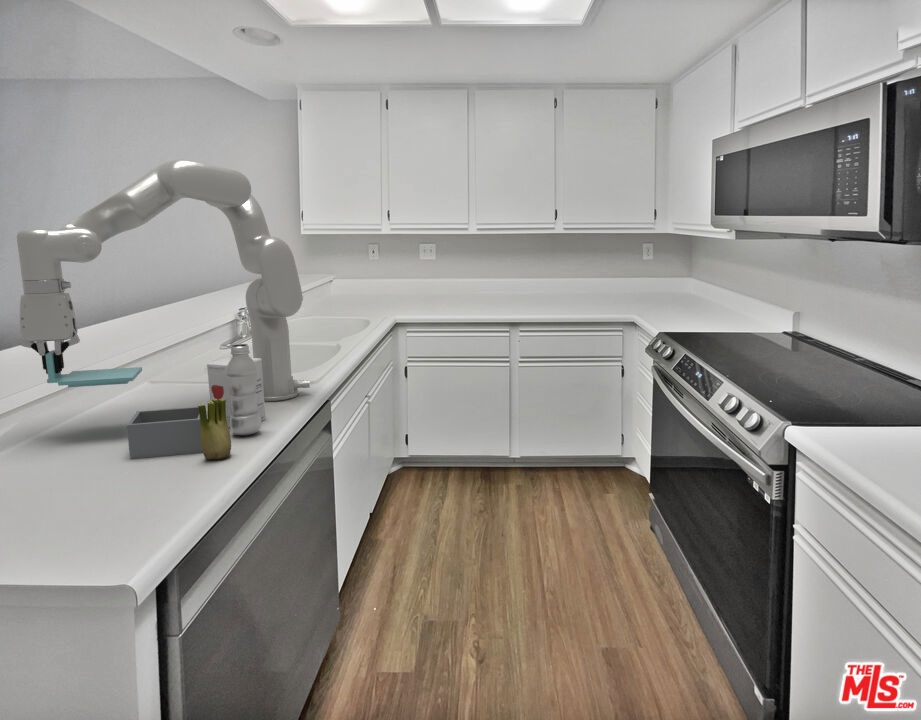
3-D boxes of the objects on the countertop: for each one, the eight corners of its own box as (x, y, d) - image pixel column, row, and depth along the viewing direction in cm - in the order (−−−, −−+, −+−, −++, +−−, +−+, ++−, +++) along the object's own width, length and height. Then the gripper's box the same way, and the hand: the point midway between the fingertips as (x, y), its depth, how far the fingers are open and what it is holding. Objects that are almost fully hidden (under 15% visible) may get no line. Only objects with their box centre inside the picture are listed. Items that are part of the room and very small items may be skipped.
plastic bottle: (229, 432, 162) (221, 344, 158) (260, 428, 164) (253, 341, 160) (232, 440, 156) (224, 349, 152) (264, 436, 158) (257, 346, 154)
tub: (208, 436, 159) (205, 406, 157) (203, 452, 148) (200, 419, 147) (140, 442, 155) (136, 411, 154) (130, 458, 145) (126, 425, 143)
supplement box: (210, 426, 166) (204, 363, 164) (235, 416, 175) (230, 355, 172) (243, 429, 163) (238, 365, 160) (267, 419, 172) (262, 357, 169)
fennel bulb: (203, 463, 141) (197, 404, 139) (201, 456, 146) (195, 398, 143) (234, 459, 144) (229, 401, 141) (231, 452, 148) (226, 395, 146)
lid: (142, 373, 167) (139, 343, 166) (133, 384, 156) (129, 352, 155) (58, 378, 163) (55, 347, 162) (43, 390, 152) (38, 357, 151)
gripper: (87, 285, 159) (96, 367, 163) (9, 287, 155) (20, 371, 159) (78, 288, 152) (88, 373, 156) (-4, 290, 148) (8, 378, 152)
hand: (54, 372), depth 157 cm, fingers closed on lid, 1 cm apart
